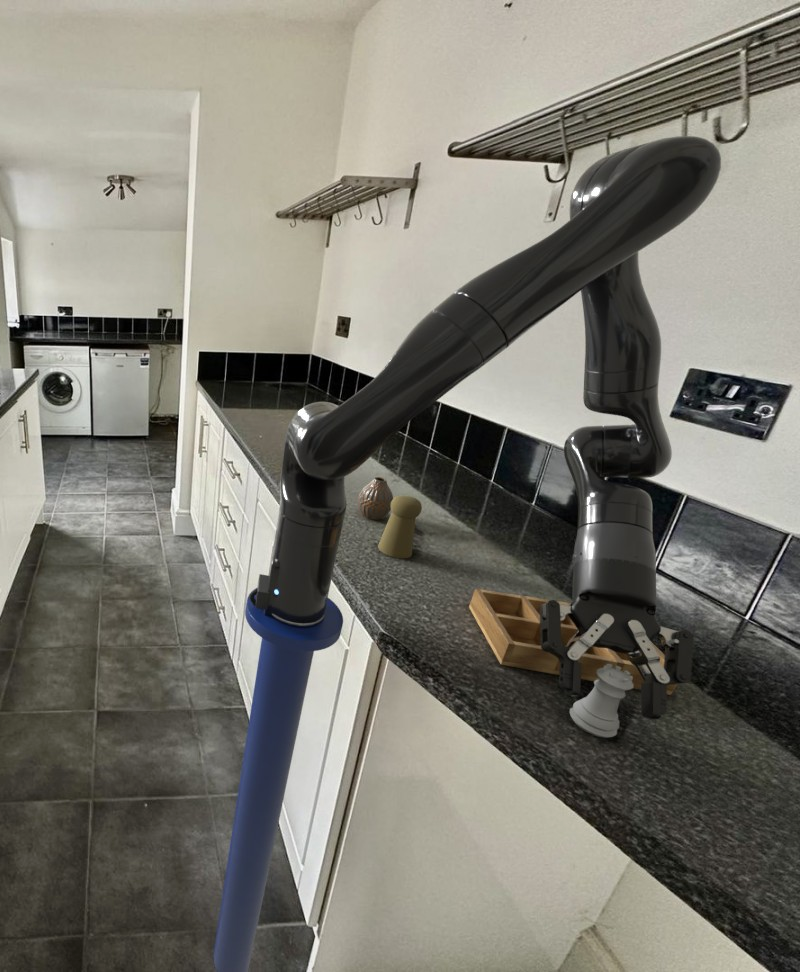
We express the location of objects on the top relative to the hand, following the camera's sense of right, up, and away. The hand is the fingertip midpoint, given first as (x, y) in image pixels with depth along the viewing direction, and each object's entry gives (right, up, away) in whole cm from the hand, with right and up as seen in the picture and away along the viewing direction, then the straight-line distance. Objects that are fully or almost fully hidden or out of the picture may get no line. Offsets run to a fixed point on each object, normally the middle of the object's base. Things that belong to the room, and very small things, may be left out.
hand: (610, 706), depth 57 cm
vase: (-3, +18, +54) cm, 57 cm away
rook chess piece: (0, -4, +3) cm, 5 cm away
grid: (+7, +2, +16) cm, 18 cm away
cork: (-5, +12, +40) cm, 42 cm away
